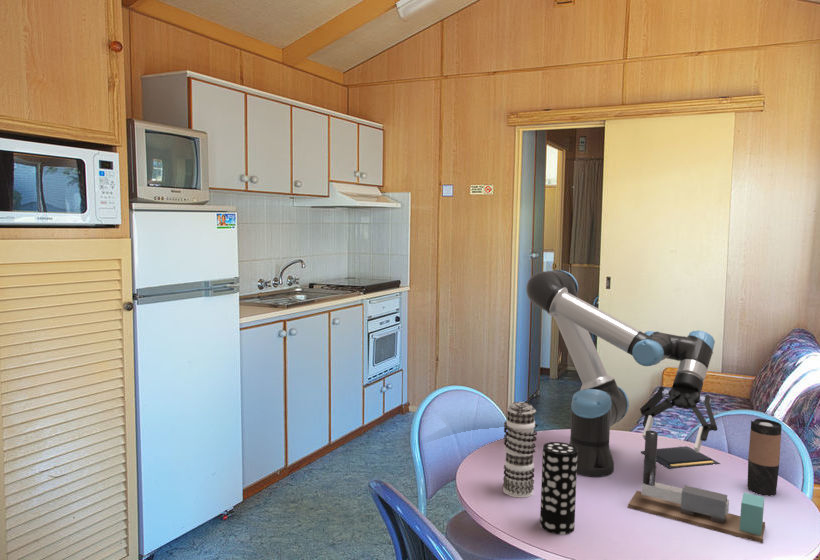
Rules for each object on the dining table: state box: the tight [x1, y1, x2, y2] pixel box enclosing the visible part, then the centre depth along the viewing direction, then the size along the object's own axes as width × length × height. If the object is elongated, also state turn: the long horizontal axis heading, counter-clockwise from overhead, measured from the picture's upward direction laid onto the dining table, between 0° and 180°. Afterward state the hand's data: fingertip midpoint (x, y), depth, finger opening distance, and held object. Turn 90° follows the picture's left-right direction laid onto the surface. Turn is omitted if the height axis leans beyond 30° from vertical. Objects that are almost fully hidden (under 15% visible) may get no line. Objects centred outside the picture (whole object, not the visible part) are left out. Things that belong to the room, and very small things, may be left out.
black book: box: [640, 445, 721, 470], centre depth 194 cm, size 20×2×15 cm
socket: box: [739, 492, 765, 536], centre depth 146 cm, size 4×7×7 cm, turn 146°
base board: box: [627, 490, 766, 544], centre depth 153 cm, size 31×10×1 cm, turn 56°
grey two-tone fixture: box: [641, 430, 730, 516], centre depth 154 cm, size 20×3×17 cm, turn 56°
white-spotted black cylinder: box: [539, 441, 578, 535], centre depth 146 cm, size 8×8×20 cm
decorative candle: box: [502, 401, 538, 499], centre depth 166 cm, size 9×9×25 cm
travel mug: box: [747, 418, 783, 497], centre depth 169 cm, size 8×8×20 cm
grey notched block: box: [681, 484, 728, 524], centre depth 152 cm, size 10×5×6 cm, turn 56°
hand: (669, 443), depth 162 cm, fingers open, 13 cm apart
